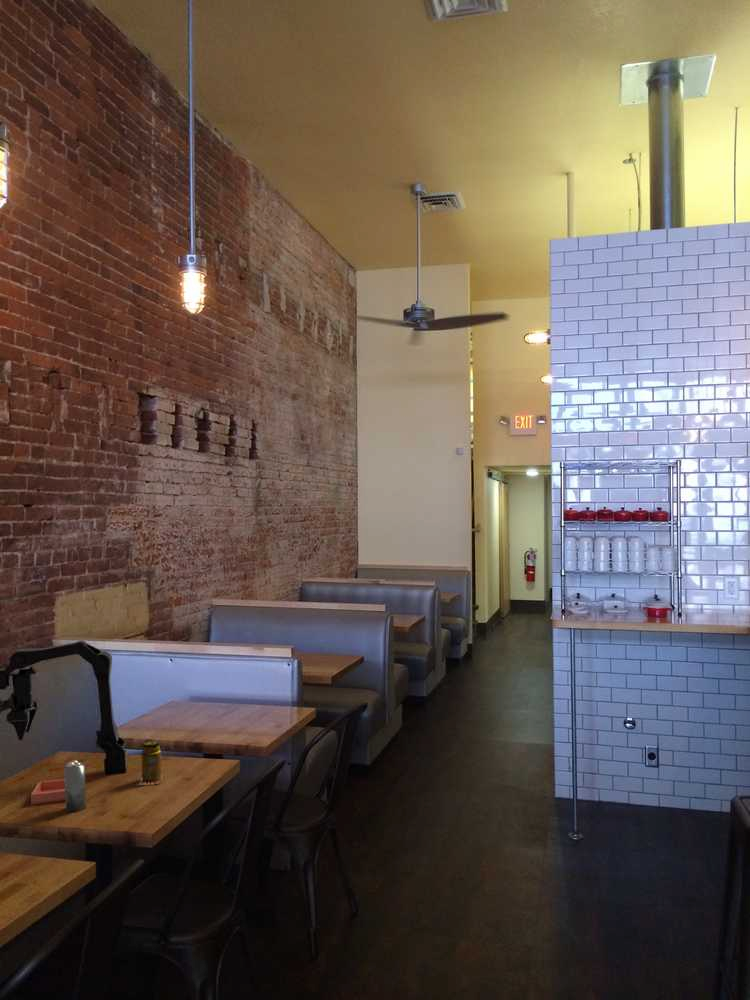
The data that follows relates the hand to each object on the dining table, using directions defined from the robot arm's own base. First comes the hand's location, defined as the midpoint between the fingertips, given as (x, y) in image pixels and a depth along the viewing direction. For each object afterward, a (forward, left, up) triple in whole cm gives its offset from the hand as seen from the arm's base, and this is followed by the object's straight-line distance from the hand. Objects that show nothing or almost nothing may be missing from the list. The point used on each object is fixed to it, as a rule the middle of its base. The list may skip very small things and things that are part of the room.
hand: (24, 736), depth 256 cm
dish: (-12, +18, -15) cm, 26 cm away
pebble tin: (-20, +31, -15) cm, 40 cm away
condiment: (-40, +14, -15) cm, 45 cm away
